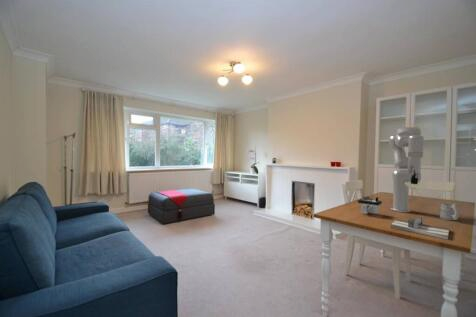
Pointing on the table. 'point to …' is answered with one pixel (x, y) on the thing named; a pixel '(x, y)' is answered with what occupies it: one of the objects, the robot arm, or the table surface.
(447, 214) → the mug
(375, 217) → the table surface
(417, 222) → the bar
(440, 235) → the door board
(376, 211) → the black-topped pedestal
